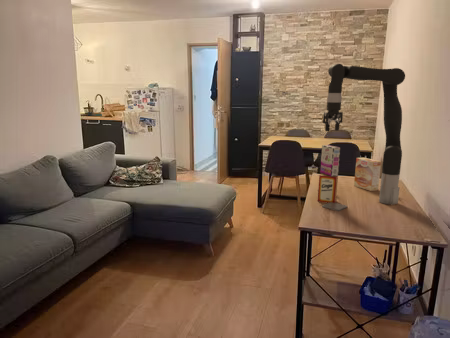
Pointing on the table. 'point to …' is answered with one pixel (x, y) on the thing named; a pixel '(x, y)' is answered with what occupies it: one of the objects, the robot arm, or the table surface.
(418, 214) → the table surface
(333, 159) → the candy bar box
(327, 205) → the slate coaster
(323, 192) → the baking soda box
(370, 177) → the coffeecake box
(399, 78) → the robot arm
